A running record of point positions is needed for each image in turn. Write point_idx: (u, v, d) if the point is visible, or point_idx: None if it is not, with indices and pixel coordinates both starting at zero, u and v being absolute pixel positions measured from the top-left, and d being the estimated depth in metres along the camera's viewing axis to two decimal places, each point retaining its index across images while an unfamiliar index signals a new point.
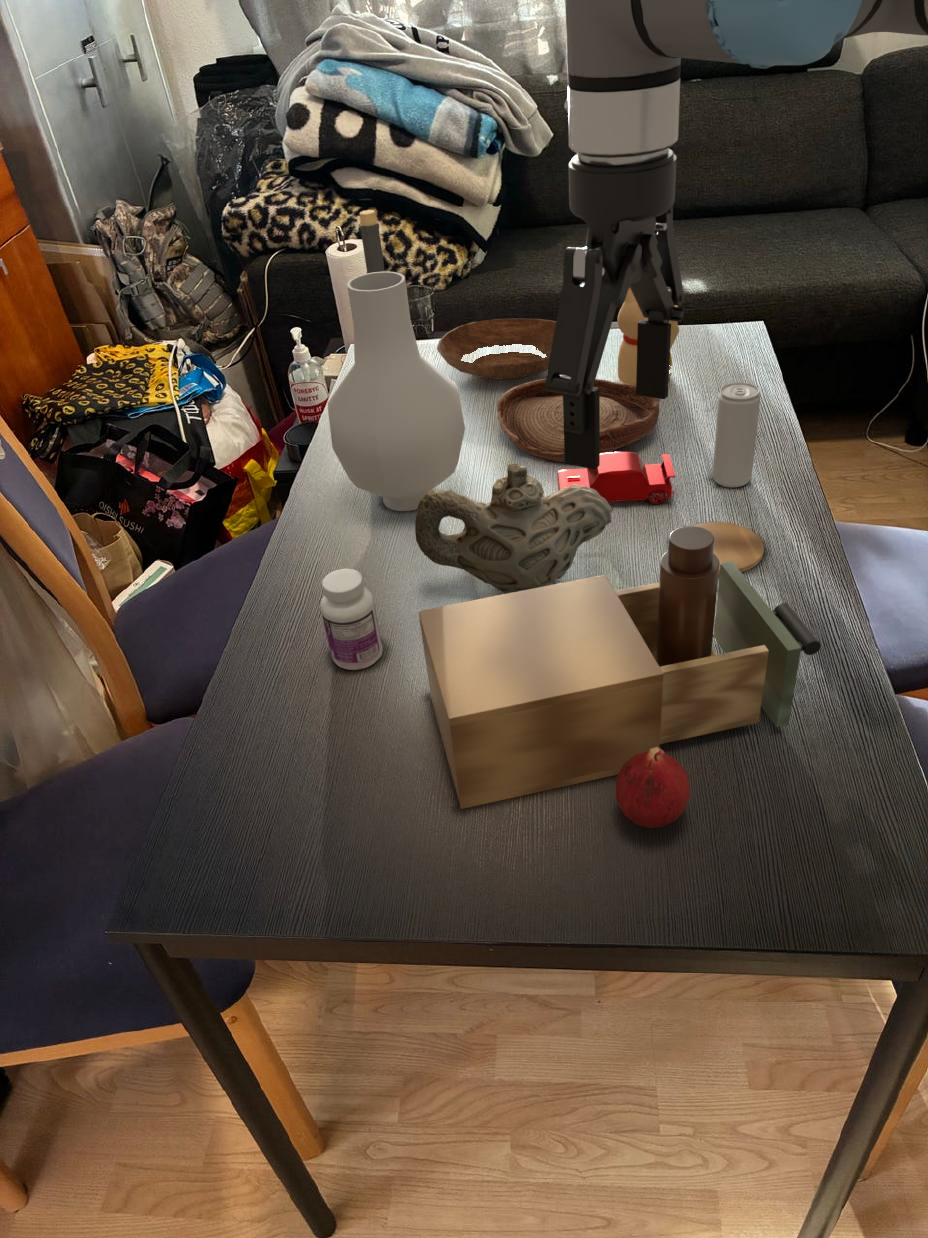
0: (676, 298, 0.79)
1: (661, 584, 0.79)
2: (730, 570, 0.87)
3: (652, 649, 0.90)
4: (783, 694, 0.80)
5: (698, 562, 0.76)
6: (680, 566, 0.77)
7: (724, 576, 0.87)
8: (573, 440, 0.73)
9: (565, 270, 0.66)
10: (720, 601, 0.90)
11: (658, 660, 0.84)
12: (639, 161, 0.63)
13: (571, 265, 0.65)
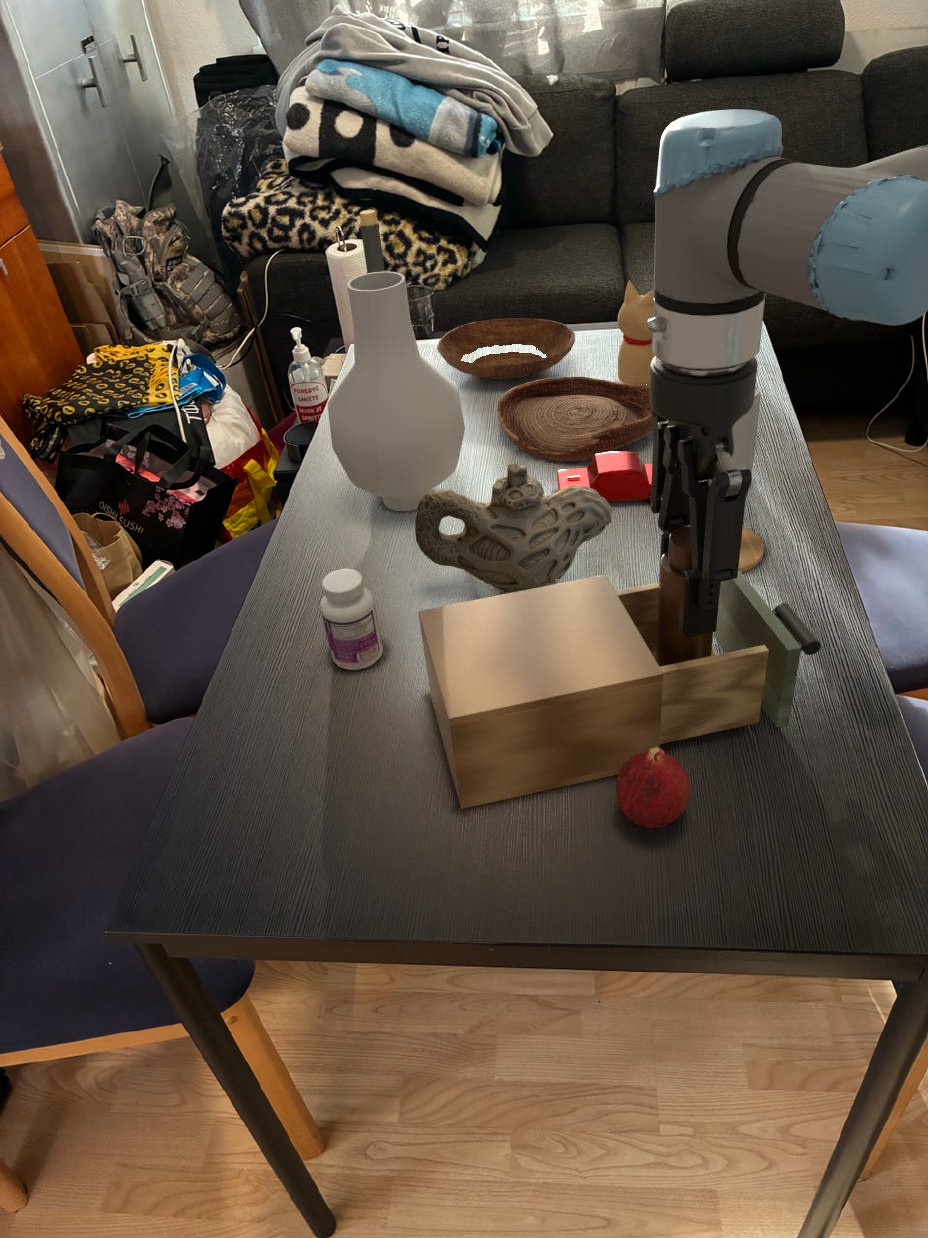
0: None
1: (661, 584, 0.79)
2: None
3: (651, 649, 0.90)
4: (783, 694, 0.80)
5: None
6: (680, 566, 0.77)
7: None
8: (696, 615, 0.78)
9: (719, 495, 0.67)
10: (720, 601, 0.90)
11: (658, 660, 0.84)
12: (747, 363, 0.66)
13: (726, 491, 0.67)
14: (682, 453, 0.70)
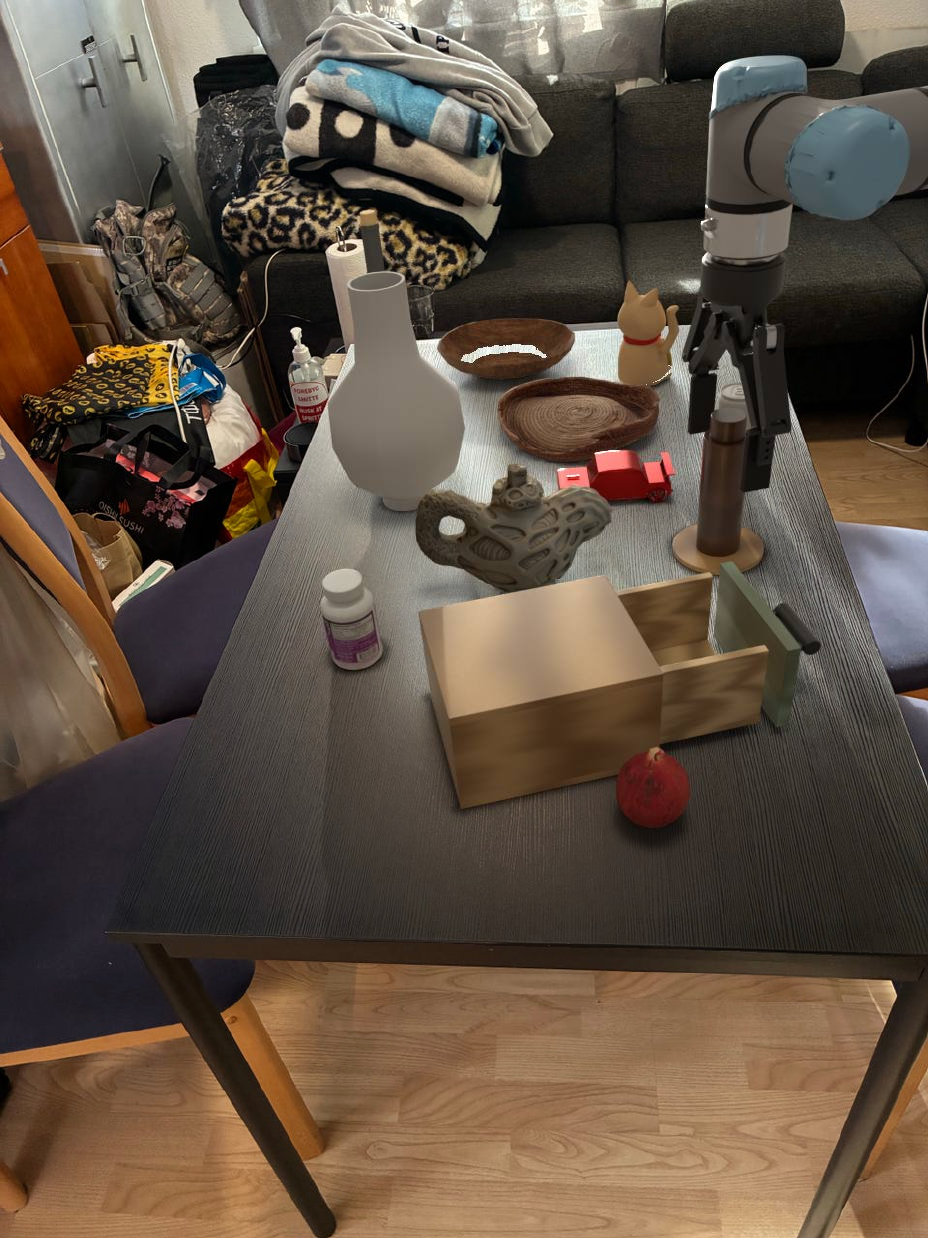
0: None
1: (704, 455, 0.99)
2: (730, 570, 0.87)
3: (651, 649, 0.90)
4: (783, 694, 0.80)
5: (734, 433, 0.96)
6: (720, 437, 0.96)
7: (724, 576, 0.87)
8: (753, 472, 0.92)
9: (760, 345, 0.85)
10: (720, 601, 0.90)
11: (699, 523, 1.04)
12: (778, 255, 0.85)
13: (765, 340, 0.85)
14: (726, 329, 0.89)
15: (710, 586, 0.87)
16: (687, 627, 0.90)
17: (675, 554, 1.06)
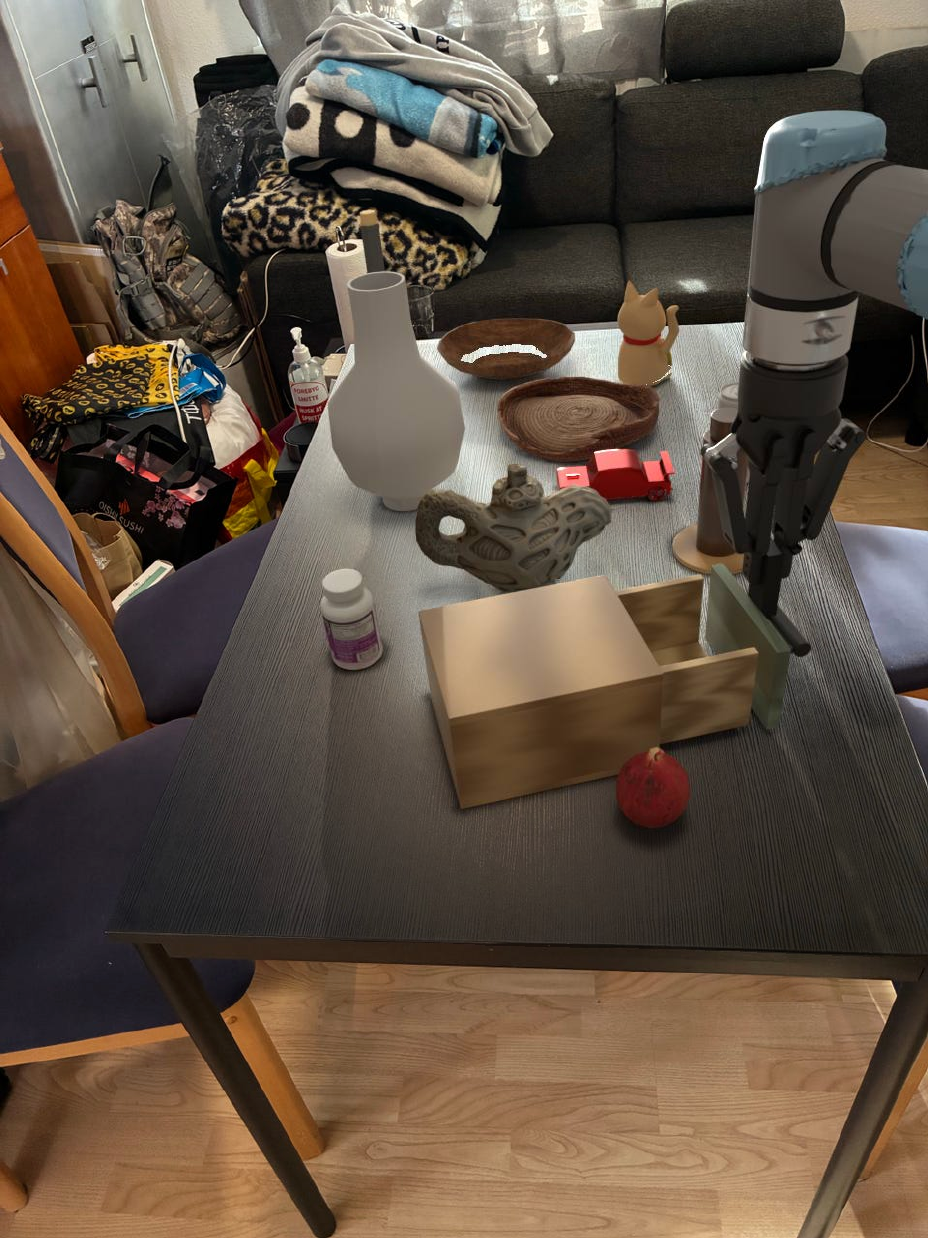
0: None
1: None
2: (721, 572, 0.87)
3: None
4: (773, 696, 0.80)
5: None
6: (720, 437, 0.96)
7: (715, 577, 0.87)
8: None
9: None
10: (711, 603, 0.90)
11: (699, 523, 1.04)
12: None
13: None
14: (815, 441, 0.71)
15: (701, 588, 0.87)
16: (677, 629, 0.90)
17: (675, 554, 1.06)
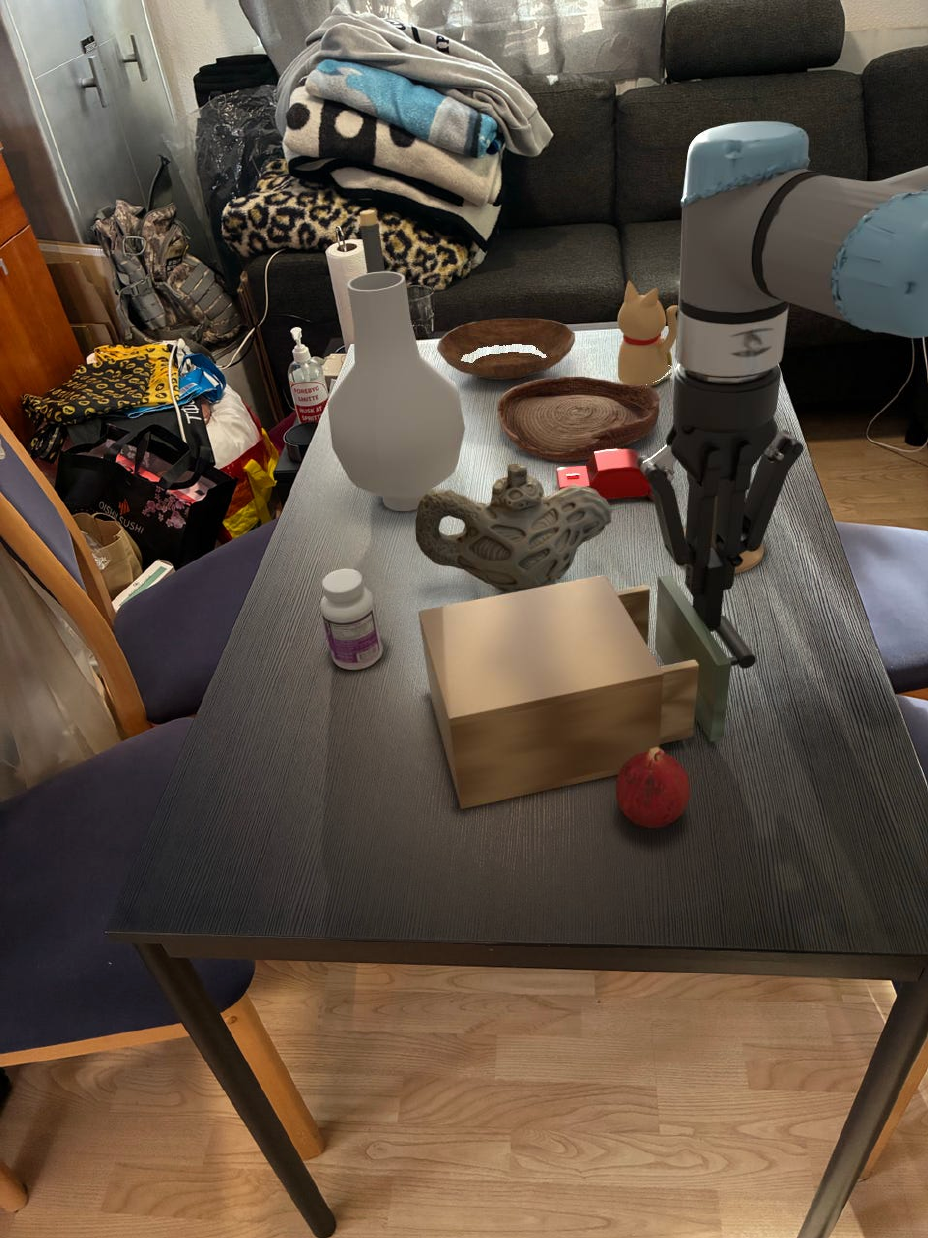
0: None
1: None
2: (667, 582, 0.86)
3: None
4: (715, 708, 0.80)
5: None
6: None
7: (661, 588, 0.87)
8: None
9: None
10: (659, 613, 0.89)
11: None
12: None
13: None
14: (751, 453, 0.71)
15: (647, 599, 0.87)
16: None
17: None
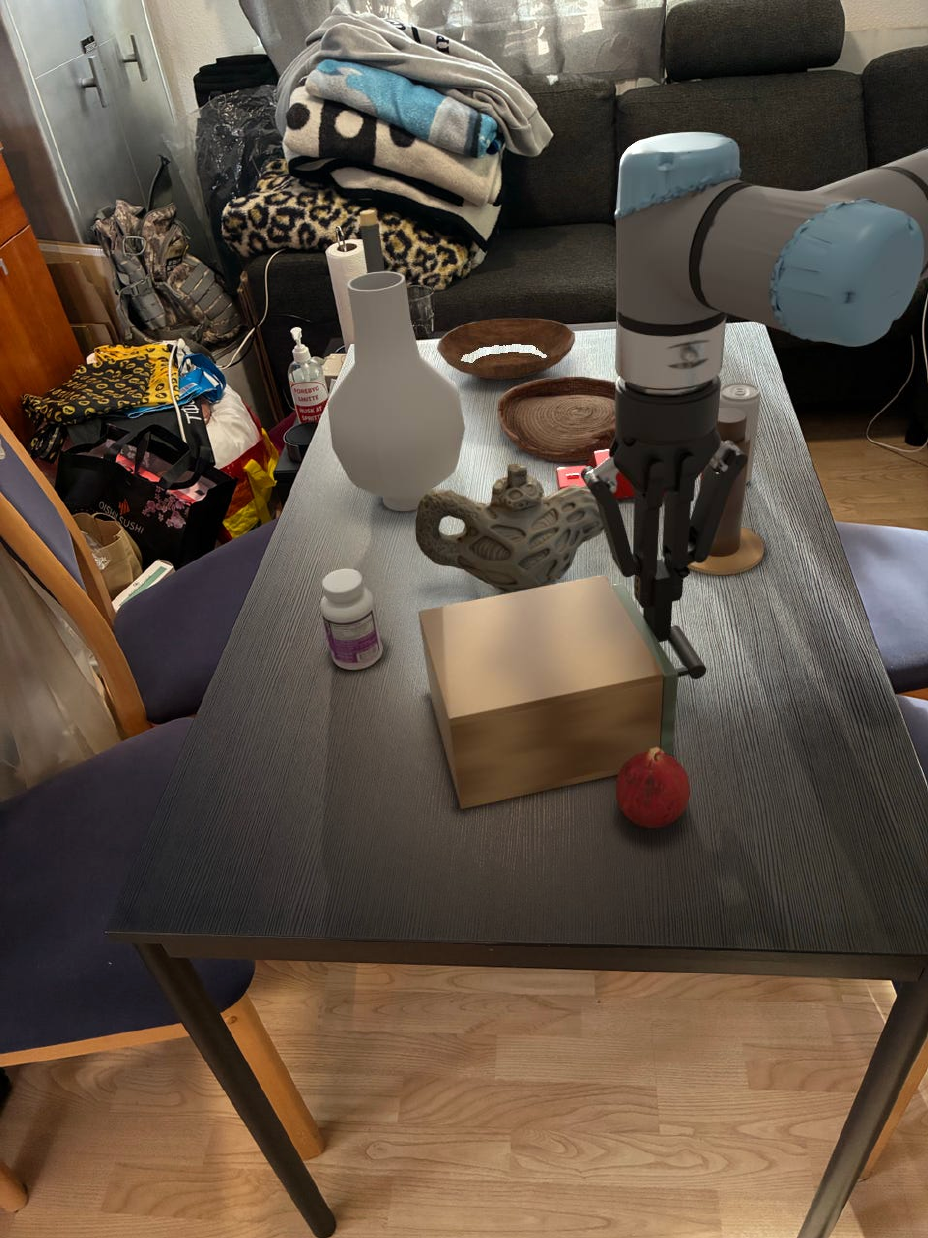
0: None
1: None
2: (620, 592, 0.86)
3: None
4: (664, 719, 0.79)
5: (734, 433, 0.96)
6: None
7: None
8: None
9: None
10: None
11: None
12: None
13: None
14: (694, 465, 0.70)
15: None
16: None
17: None
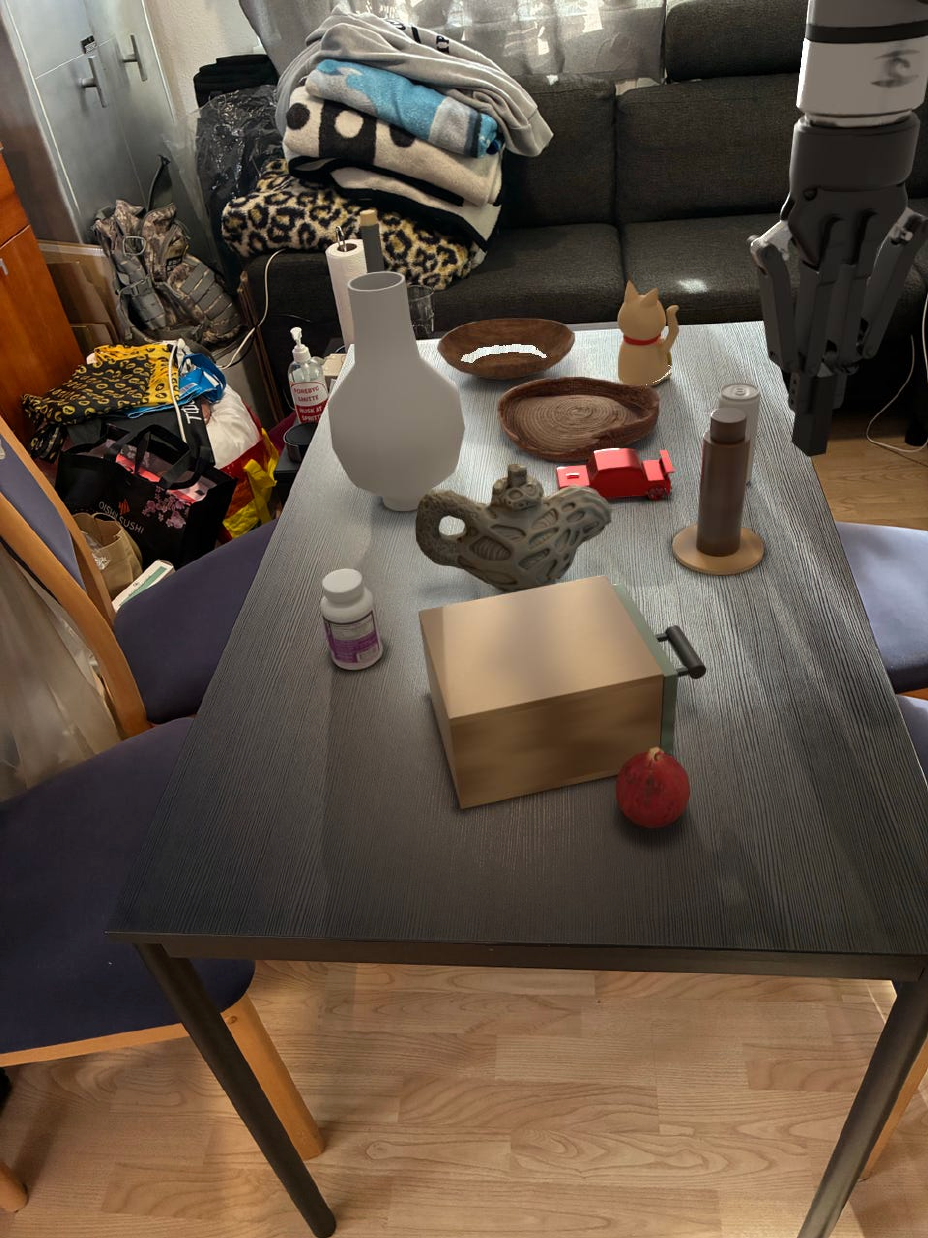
0: None
1: (704, 455, 0.99)
2: (620, 592, 0.86)
3: None
4: (664, 719, 0.79)
5: (734, 433, 0.96)
6: (720, 437, 0.96)
7: None
8: None
9: None
10: None
11: (699, 523, 1.04)
12: None
13: None
14: (879, 226, 0.62)
15: None
16: None
17: (675, 554, 1.06)
